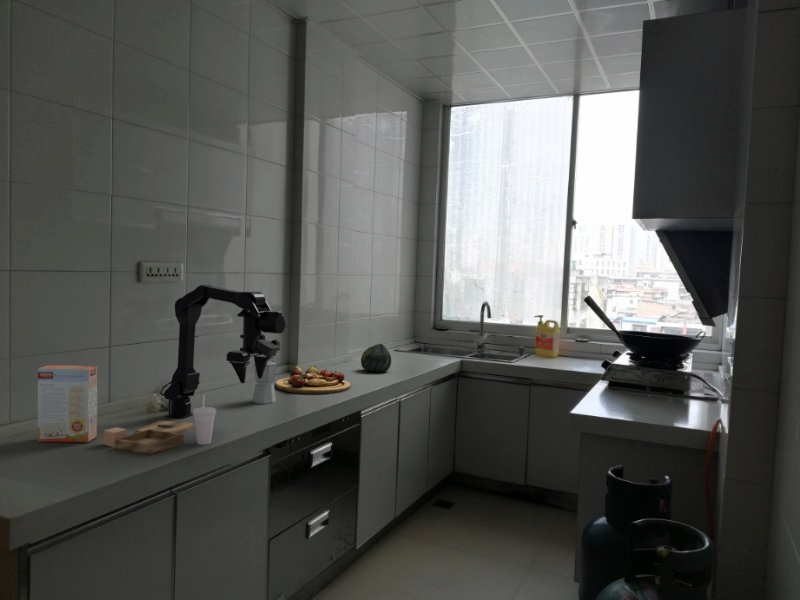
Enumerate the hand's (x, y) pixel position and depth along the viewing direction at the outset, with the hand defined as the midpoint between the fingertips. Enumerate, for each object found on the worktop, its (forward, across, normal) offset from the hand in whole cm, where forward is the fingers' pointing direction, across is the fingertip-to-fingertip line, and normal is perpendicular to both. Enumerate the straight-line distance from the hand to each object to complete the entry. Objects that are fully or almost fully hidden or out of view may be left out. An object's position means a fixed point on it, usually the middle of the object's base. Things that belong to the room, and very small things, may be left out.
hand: (251, 380), depth 192 cm
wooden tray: (+15, -30, +12) cm, 35 cm away
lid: (+15, -15, +20) cm, 29 cm away
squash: (+15, +116, +7) cm, 117 cm away
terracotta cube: (+11, -33, +22) cm, 41 cm away
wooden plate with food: (+15, +66, +15) cm, 69 cm away
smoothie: (+15, -21, +1) cm, 26 cm away
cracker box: (+15, -36, +36) cm, 53 cm away
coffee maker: (+15, +33, +16) cm, 40 cm away
